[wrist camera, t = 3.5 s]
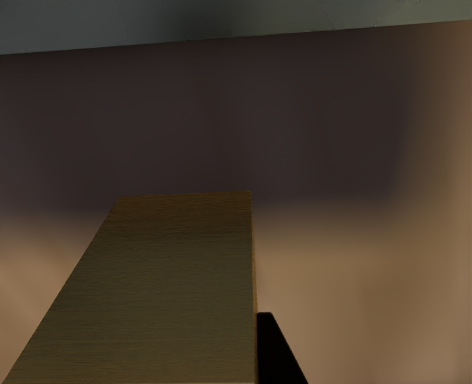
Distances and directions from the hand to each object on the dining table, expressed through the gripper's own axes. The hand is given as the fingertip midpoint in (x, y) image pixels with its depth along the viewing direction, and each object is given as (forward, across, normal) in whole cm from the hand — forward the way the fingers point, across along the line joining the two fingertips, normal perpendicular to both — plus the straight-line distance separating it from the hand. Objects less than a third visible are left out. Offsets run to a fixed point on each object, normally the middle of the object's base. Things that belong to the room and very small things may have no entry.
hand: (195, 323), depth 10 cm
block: (+1, 0, 0) cm, 1 cm away
